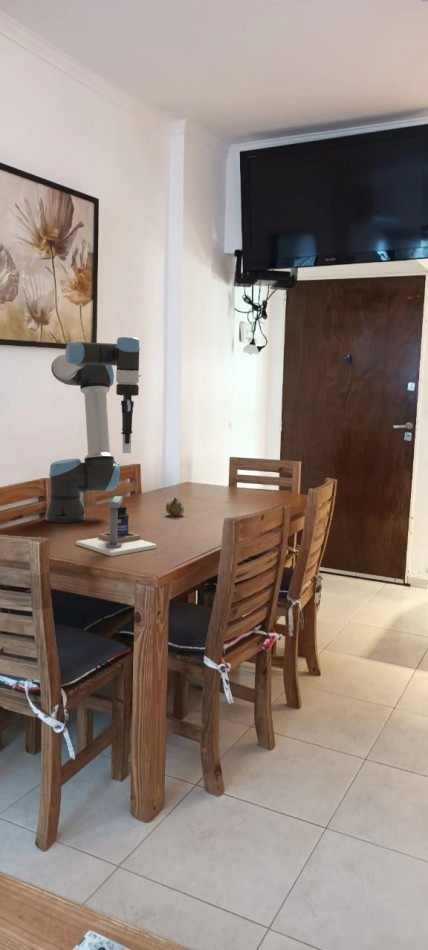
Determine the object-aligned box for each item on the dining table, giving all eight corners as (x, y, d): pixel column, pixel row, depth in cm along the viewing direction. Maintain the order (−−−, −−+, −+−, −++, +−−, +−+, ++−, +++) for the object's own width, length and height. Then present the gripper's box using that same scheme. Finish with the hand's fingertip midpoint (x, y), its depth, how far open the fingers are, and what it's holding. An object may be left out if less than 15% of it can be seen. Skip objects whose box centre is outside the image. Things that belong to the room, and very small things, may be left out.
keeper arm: (118, 508, 223) (118, 502, 223) (107, 508, 223) (107, 502, 223) (124, 500, 238) (124, 495, 237) (113, 500, 238) (113, 495, 237)
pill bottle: (112, 541, 234) (112, 508, 233) (108, 537, 240) (108, 505, 238) (130, 539, 236) (130, 507, 235) (125, 536, 242) (125, 504, 241)
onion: (188, 515, 290) (188, 496, 289) (177, 518, 283) (177, 498, 282) (173, 513, 294) (173, 494, 293) (162, 515, 287) (162, 496, 286)
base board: (76, 544, 233) (76, 503, 231) (120, 537, 246) (120, 498, 244) (111, 556, 219) (111, 512, 217) (156, 547, 231) (157, 506, 229)
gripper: (140, 384, 233) (139, 455, 237) (136, 383, 246) (135, 450, 249) (118, 383, 231) (117, 455, 235) (114, 382, 244) (114, 450, 248)
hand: (126, 452), depth 242 cm, fingers closed
